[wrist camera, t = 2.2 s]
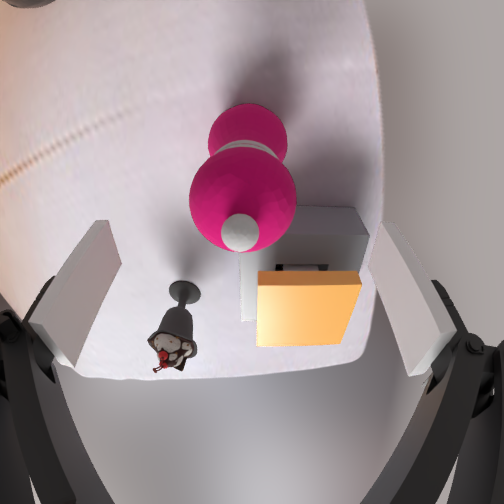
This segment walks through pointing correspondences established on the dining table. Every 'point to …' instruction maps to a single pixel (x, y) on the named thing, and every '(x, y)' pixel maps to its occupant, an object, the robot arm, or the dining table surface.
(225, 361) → the dining table surface
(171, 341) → the sundae
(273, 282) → the button
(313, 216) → the breaker box
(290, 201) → the pepper mill
